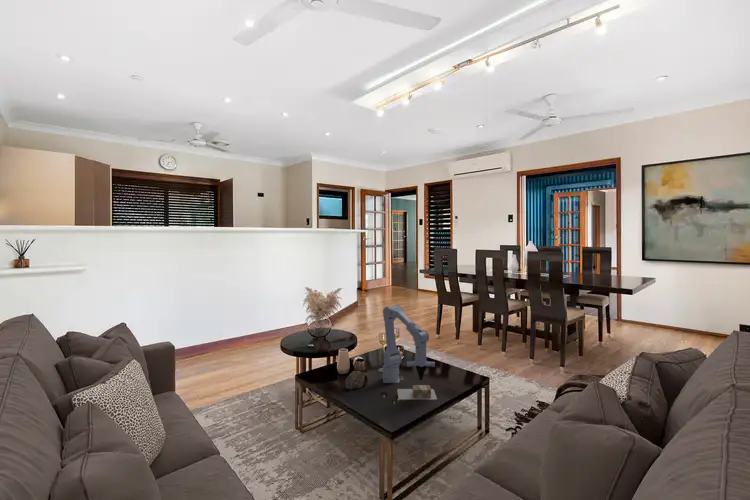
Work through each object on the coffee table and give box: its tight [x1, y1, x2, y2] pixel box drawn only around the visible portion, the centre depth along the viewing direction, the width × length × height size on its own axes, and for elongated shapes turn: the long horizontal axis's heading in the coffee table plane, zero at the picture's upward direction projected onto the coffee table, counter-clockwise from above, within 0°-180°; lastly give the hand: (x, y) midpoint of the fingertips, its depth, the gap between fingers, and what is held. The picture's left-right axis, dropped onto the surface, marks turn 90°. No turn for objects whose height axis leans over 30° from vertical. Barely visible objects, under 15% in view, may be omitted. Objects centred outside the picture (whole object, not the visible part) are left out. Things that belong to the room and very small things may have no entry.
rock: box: [345, 370, 367, 390], centre depth 202 cm, size 12×7×10 cm, turn 122°
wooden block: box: [412, 384, 432, 398], centre depth 191 cm, size 4×6×9 cm
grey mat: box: [396, 388, 438, 401], centre depth 192 cm, size 20×12×1 cm, turn 90°
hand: (420, 379), depth 191 cm, fingers closed
